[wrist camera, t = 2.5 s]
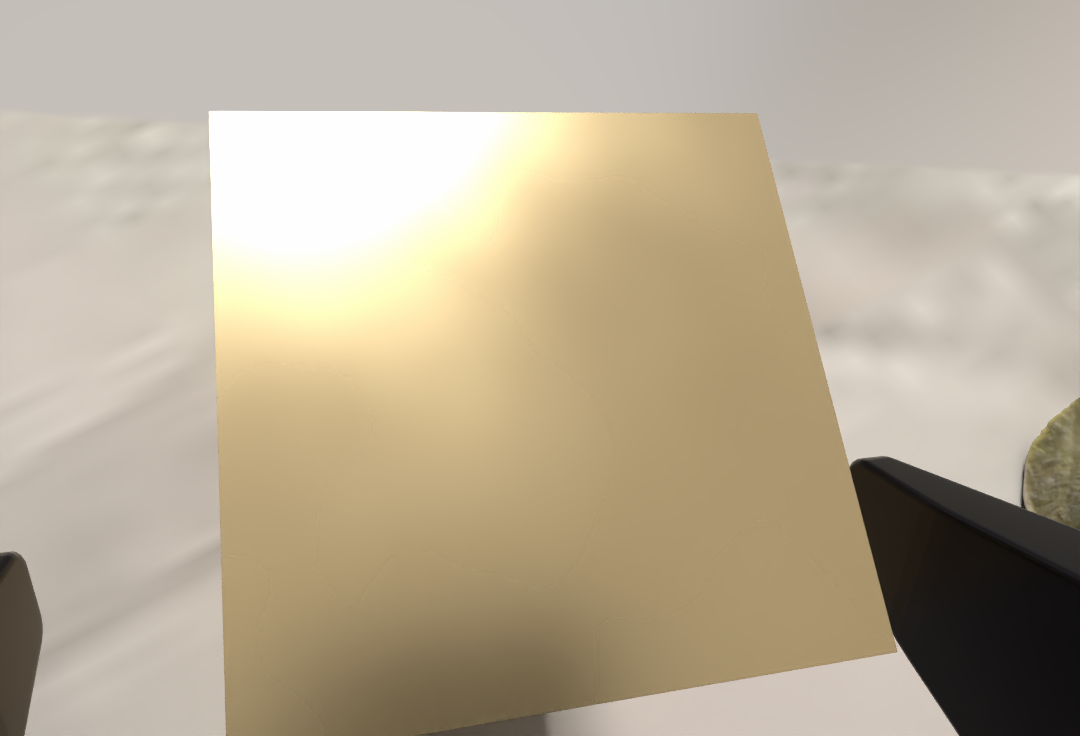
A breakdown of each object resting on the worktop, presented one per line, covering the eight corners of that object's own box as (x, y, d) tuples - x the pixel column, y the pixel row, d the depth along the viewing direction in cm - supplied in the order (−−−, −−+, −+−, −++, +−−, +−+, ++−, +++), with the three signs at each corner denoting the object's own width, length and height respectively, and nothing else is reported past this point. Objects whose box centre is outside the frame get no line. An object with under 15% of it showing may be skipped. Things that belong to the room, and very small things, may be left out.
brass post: (543, 662, 17) (896, 652, 6) (313, 698, 16) (226, 769, 5) (513, 447, 18) (756, 113, 7) (300, 467, 17) (209, 111, 6)
